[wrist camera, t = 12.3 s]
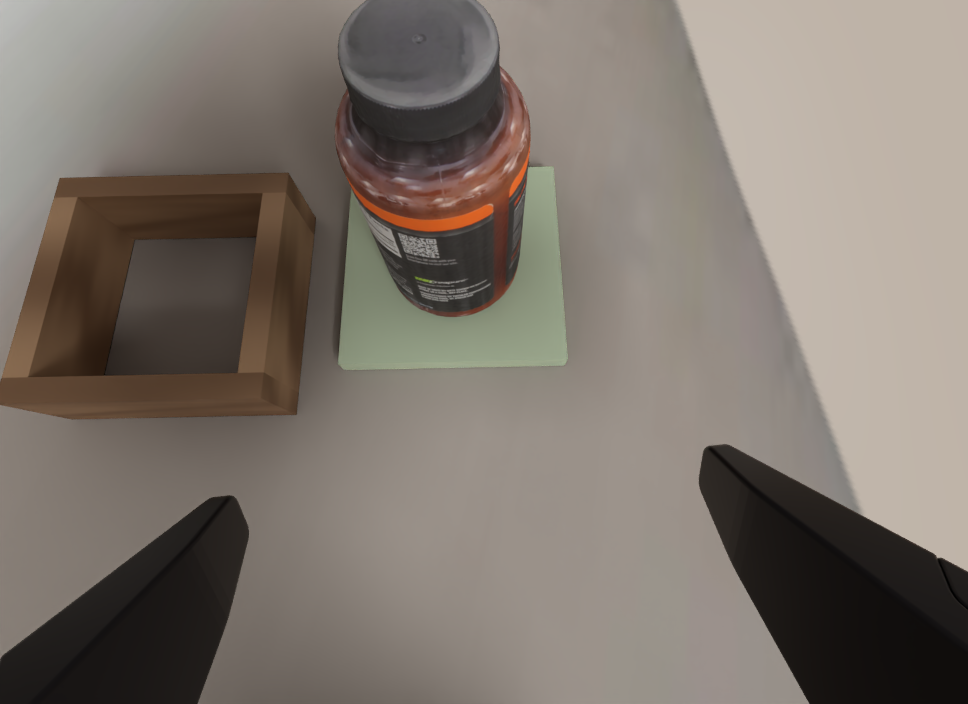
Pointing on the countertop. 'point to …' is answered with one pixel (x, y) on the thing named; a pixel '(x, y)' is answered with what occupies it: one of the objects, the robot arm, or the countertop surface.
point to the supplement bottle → (435, 149)
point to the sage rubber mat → (467, 339)
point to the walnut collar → (100, 281)
